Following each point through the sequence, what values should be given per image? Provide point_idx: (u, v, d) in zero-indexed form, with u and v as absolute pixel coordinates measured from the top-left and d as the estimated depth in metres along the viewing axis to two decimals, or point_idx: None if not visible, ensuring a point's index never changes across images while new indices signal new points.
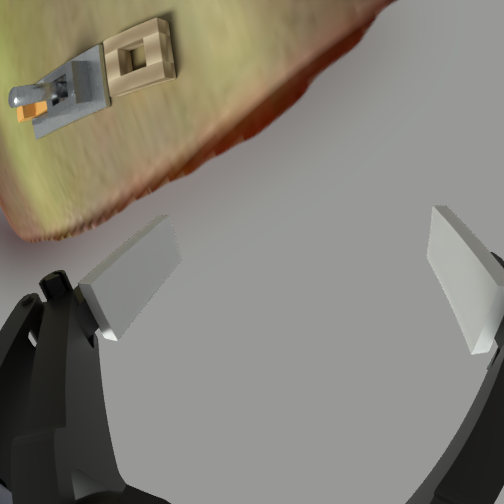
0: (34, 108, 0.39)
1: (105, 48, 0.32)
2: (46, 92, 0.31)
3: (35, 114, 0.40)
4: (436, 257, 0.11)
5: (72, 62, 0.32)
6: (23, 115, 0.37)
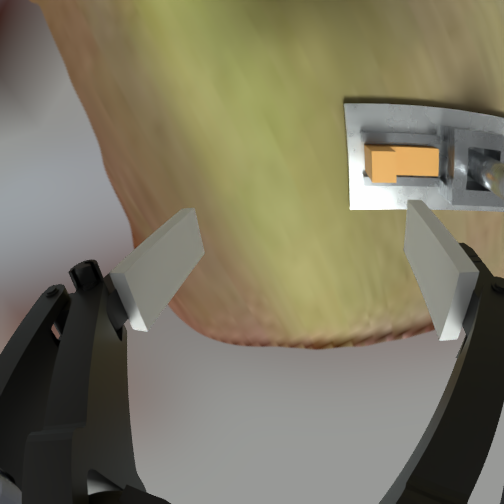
0: None
1: None
2: None
3: None
4: (411, 249, 0.12)
5: None
6: (395, 174, 0.24)
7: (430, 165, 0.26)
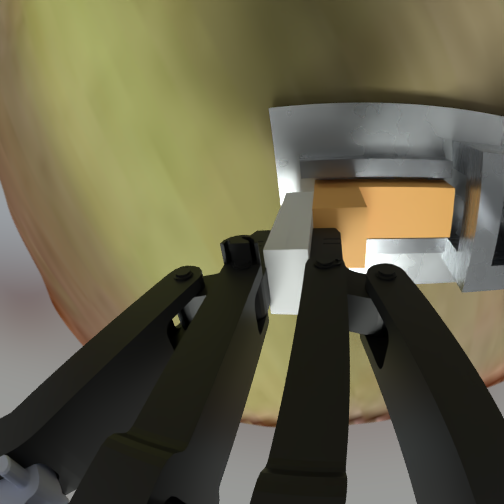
0: None
1: None
2: None
3: None
4: None
5: None
6: (364, 253, 0.13)
7: (436, 219, 0.14)
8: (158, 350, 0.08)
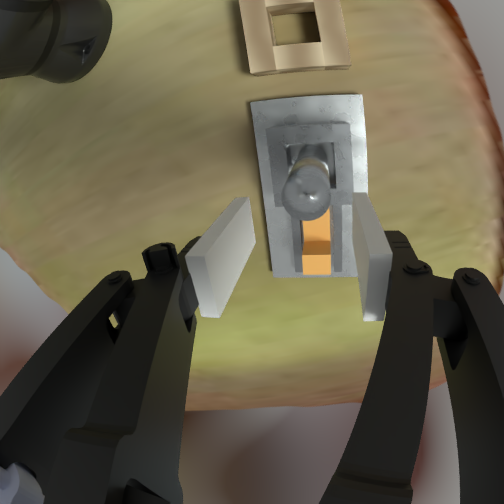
0: (316, 241, 0.33)
1: (264, 68, 0.25)
2: (314, 158, 0.22)
3: (328, 241, 0.32)
4: (354, 238, 0.14)
5: (269, 128, 0.26)
6: (323, 255, 0.30)
7: None
8: (101, 346, 0.08)
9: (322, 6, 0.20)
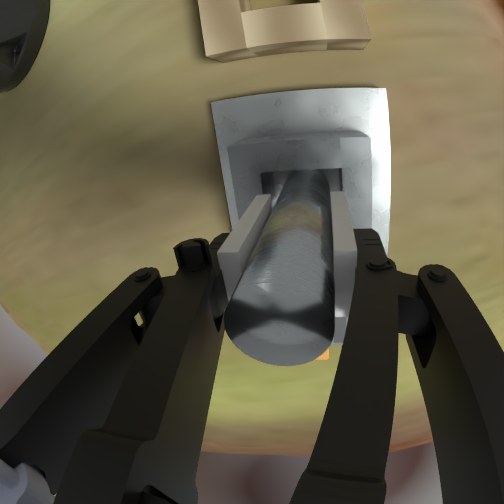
0: None
1: (228, 46, 0.14)
2: (307, 208, 0.12)
3: None
4: None
5: (234, 145, 0.16)
6: None
7: None
8: (124, 346, 0.08)
9: None
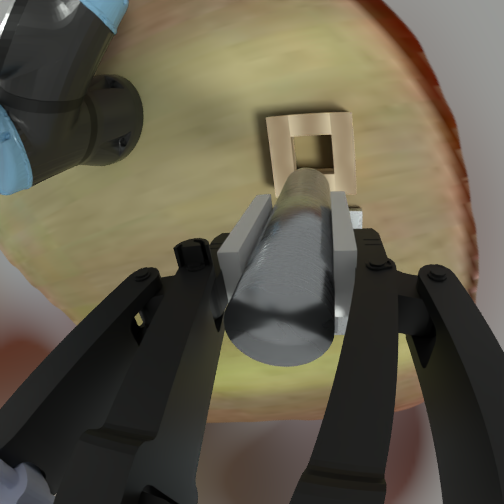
0: None
1: None
2: (307, 208, 0.12)
3: None
4: None
5: None
6: None
7: None
8: (124, 346, 0.08)
9: (338, 139, 0.31)
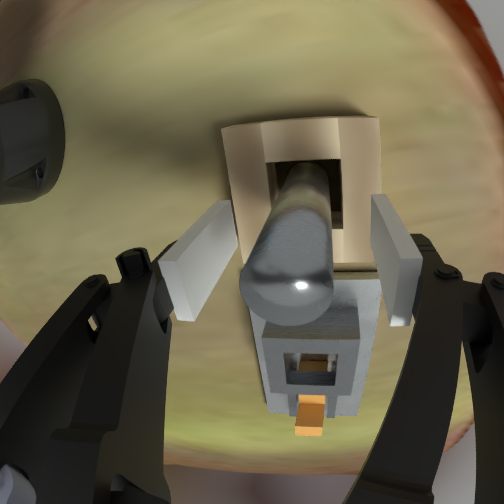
0: (311, 404, 0.30)
1: None
2: (308, 194, 0.14)
3: (322, 404, 0.29)
4: (373, 241, 0.13)
5: (266, 335, 0.23)
6: (315, 427, 0.27)
7: None
8: (83, 347, 0.08)
9: (353, 168, 0.17)
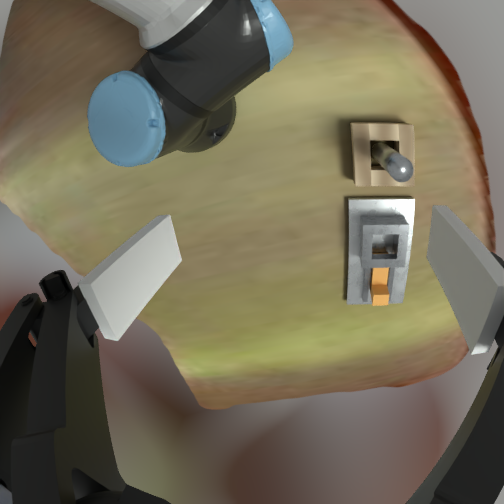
0: (379, 285, 0.51)
1: (364, 184, 0.43)
2: (394, 150, 0.35)
3: (385, 284, 0.51)
4: (436, 257, 0.11)
5: (365, 224, 0.45)
6: (385, 295, 0.48)
7: None
8: (28, 357, 0.07)
9: (403, 144, 0.38)
